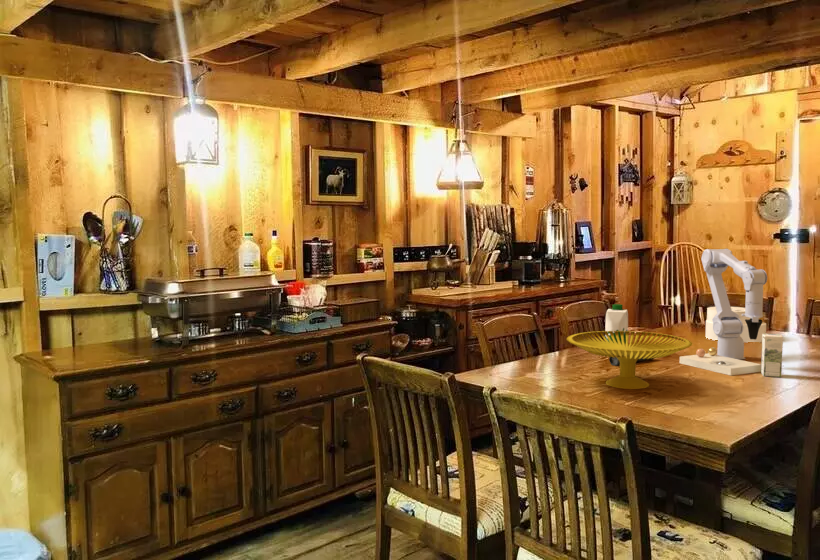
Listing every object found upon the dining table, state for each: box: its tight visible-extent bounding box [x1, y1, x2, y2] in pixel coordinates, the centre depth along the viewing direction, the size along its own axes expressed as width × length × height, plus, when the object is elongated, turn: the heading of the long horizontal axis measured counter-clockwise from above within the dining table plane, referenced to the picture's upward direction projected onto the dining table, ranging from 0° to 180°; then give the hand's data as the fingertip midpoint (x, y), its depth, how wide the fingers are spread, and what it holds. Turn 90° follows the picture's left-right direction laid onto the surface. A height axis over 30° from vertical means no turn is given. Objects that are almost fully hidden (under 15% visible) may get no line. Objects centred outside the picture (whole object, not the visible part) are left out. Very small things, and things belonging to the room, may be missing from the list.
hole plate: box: [679, 352, 761, 376], centre depth 259 cm, size 15×24×2 cm, turn 23°
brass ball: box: [707, 346, 717, 356], centre depth 268 cm, size 3×3×3 cm
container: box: [705, 306, 767, 343], centre depth 318 cm, size 20×25×14 cm
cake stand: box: [566, 330, 693, 390], centre depth 234 cm, size 40×40×15 cm
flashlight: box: [608, 357, 655, 367], centre depth 269 cm, size 5×21×5 cm, turn 120°
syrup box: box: [760, 333, 784, 378], centre depth 244 cm, size 6×6×14 cm
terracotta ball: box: [695, 348, 706, 357], centre depth 266 cm, size 3×3×3 cm
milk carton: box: [604, 303, 629, 344], centre depth 287 cm, size 9×9×20 cm
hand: (753, 339), depth 258 cm, fingers closed
